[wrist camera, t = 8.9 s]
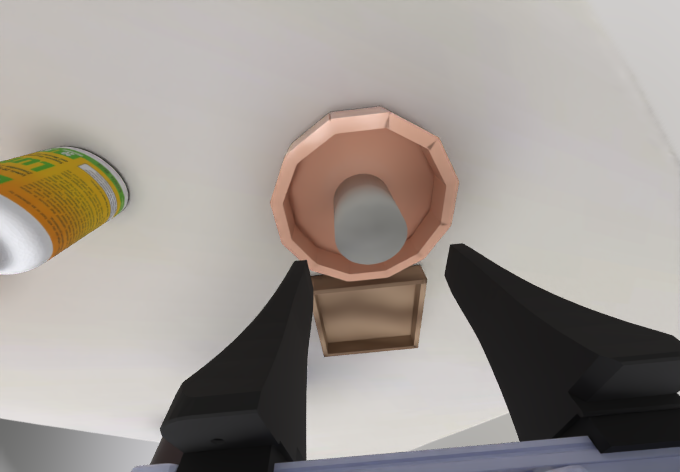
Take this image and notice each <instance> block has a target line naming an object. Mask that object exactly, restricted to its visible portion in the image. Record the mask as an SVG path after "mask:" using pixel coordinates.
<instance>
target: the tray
mask: <svg viewBox="0 0 680 472" xmlns="http://www.w3.org/2000/svg"><path fill="white" fill-rule="evenodd" d="M311 280H312V284H313V314H314V318H315V322H316V326H317V330H318V334H319V338H320V342H321V346H322V350H323V354H324V357H328V356H338V355H349V354H359V353H370V352H380V351H390V350H401V349H411V348H418V343H419V335H420V328H421V321H422V313H423V306H424V299H425V291H426V284H427V278H426V276H425V274H424V272H423V270H422V268H421V266H420V265H416V266H409V267H407V268H405V269H403V270H402V271H400V272H398V273H396V274H394V275H392V276H390V277H388V278H379V279H369V280H359V281H349V280H348V281H345V280H341V279H338V278H335V277H331V276H328V275H318V276H311Z"/></svg>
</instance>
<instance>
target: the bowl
mask: <svg viewBox="0 0 680 472" xmlns="http://www.w3.org/2000/svg"><path fill="white" fill-rule="evenodd" d="M356 174H371V175H374V176H376V177H378V178H380V179H381V180H382V181H383V182H384V183H385V184H386V186H387V188H388V189H389V191H390V193H391V195H392V197H393V199H394V201H395V203H396V205H397V206H398V208H399V210H400V212H401V214H402V216H403V218H404V220H405V222H406V225H407V238H406V241H405V243H404V245H403V247H402V248H401V250H400V251H399V252H398V253H397V254H396V255H394V256H393V257H392V258H390V259H388V260H386V261H384V262H381V263H377V264H370V265H365V264H358V263H355V262H352V261H350V260H348V259H347V258H345V257H344V256H343V255H342V254H341V253H340V252H339V250H338V248H337V246H336V242H335V228H334V203H333V200H334V194H335V192H336V189H337V188H338V186H339V185H340V184H341V183H342V182H343V181H344V180H345V179H347V178H349V177H351V176H353V175H356ZM458 181H459V180H458V178H457V176H456V174H455V171H454V169H453V167H452V165H451V163H450V161H449V158H448V156H447V154H446V152H445V150H444V148H443V145H442V143H441V141H440V139H439V138H438V137H437V136H435V135H433V134H431V133H430V132H428V131H426V130H424V129H422V128H421V127H419V126H417V125H415V124H413V123H411V122H409V121H407V120H406V119H404V118H402V117H400V116H398V115H396V114H394V113H392V112H390V111H389V110H387V109H385V108H383V107H380V106H378V107H370V108H361V109H353V110H344V111H336V112H330V113H328V114H327V115H326V116H324V117H323V118H322V119H321V120H320V121H318V122H317V123H316V124H315V125H314V126H312V127H311V128H310V129H309V130H307V131H306V132H305V133H304V134H303V135H301V136H300V137H299V138H298V139H296V140H295V141H294V142H293V143H292V144H291V146H290V147H289V149H288V151H287V153H286V155H285V157H284V160H283V164H282V167H281V170H280V173H279V176H278V179H277V182H276V185H275V188H274V192H273V195H272V198H271V201H270V204H271V208H272V211H273V215H274V218H275V222H276V225H277V228H278V232H279V235H280V239H281V242H282V244H283V245H284V246H285V247H286V248H287V249H288V250H290V251H291V252H292V253H293V254H294V255H295V256H296V257H297V258H298V259H299V260H307V262H308V267H309V269H310V270H312V271H315V272H318V273H321V274H325V275H328V276H331V277H335V278H338V279H341V280H345V281H348V280H349V281H359V280H369V279H379V278H388V277H390V276H392V275H394V274H396V273H398V272H400V271H402V270H403V269H405V268H407V267H409V266H411V265H413V264H415V263H417V262H419V261H421V260H423V259H424V258H425V257H426V256H427V255H428V254H429V252H430V251H431V250H432V249H433V247H434V246H435V245H436V244H437V242H438V241H439V240H440V239H441V237H442V236H443V235H444V234H445V232H446V231H447V230H448V229H449V227H450V226H451V224H452V218H453V213H454V207H455V202H456V196H457V191H458V185H459V182H458Z"/></svg>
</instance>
